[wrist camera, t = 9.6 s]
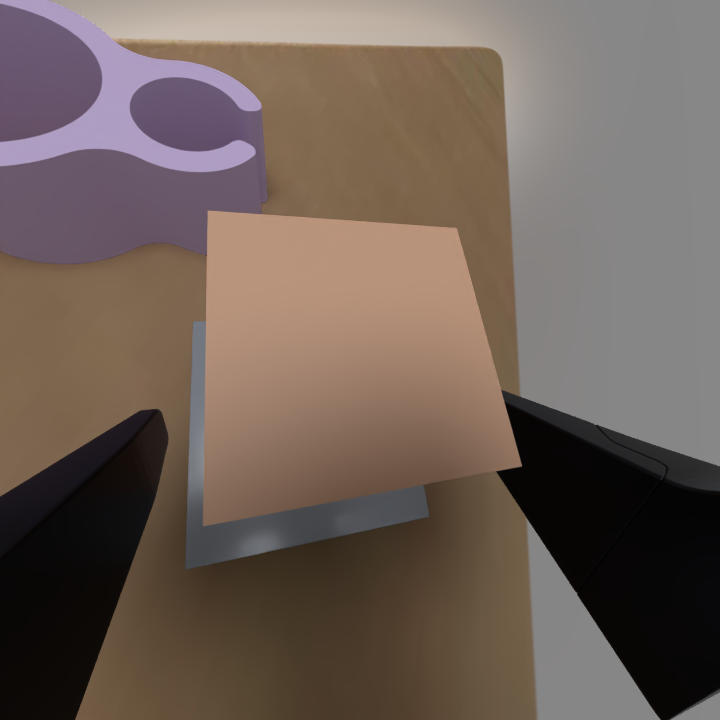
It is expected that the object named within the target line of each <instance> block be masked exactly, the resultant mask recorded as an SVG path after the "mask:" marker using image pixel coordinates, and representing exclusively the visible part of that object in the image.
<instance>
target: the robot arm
mask: <svg viewBox="0 0 720 720" xmlns="http://www.w3.org/2000/svg"><path fill="white" fill-rule="evenodd" d="M501 391H502V395H503V399H504V402H505V406H506V410H507V413H508V417H509V421H510V424H511V428H512V432H513V435H514V439H515V442H516V446H517V450H518V453H519V457H520V461H521V464H522V466H521V467H516V468H511V469H505V470H500V471H496V472H497V474H498V475H499V477H500V478H501V480H502V481H503V483H504V484H505V486H506V487H507V489H508V490H509V492H510V493H511V495H512V496H513V498H514V499H515V501H516V502H517V504H518V505H519V507H520V508H521V510H522V511H523V513H524V514H525V516H526V517H527V519H528V521H529V522H530V524H531V525H532V527H533V528H534V530H535V531H536V533H537V534H538V536H539V537H540V539H541V540H542V542H543V543H544V545H545V546H546V548H547V549H548V551H549V552H550V554H551V555H552V557H553V558H554V560H555V561H556V563H557V564H558V566H559V567H560V569H561V570H562V572H563V574H564V575H565V576H566V578H567V580H568V581H569V583H570V584H571V586H572V587H573V589H574V590H575V592H577V595H578V597H579V598H580V600H581V601H582V603H583V604H584V606H585V607H586V609H587V610H588V612H589V613H590V615H591V616H592V618H593V619H594V621H595V622H596V624H597V625H598V627H599V629H600V630H601V632H602V633H603V634H604V636H605V638H606V639H607V641H608V642H609V644H610V645H611V647H612V648H613V650H614V651H615V653H616V654H617V656H618V657H619V659H620V660H621V662H622V663H623V665H624V666H625V668H626V669H627V671H628V672H629V674H630V676H631V677H632V679H633V680H634V682H635V683H636V685H637V686H638V688H639V689H640V691H641V692H642V694H643V695H644V697H645V698H646V700H647V701H648V703H649V704H650V706H651V707H652V709H653V710H654V711H655V713H656V714H657V716H658V717H659V718H660V719H661V720H671V719H673V718H674V717H676V716H678V715H680V714H682V713H683V712H685V711H687V710H689V709H691V708H692V707H694V706H696V705H698V704H700V703H701V702H703V701H705V700H706V699H709V698H710V697H712V696H714V695H716V694H718V693H719V692H720V466H717V465H714V464H711V463H708V462H705V461H701V460H698V459H695V458H692V457H689V456H686V455H683V454H680V453H677V452H674V451H671V450H668V449H665V448H662V447H659V446H656V445H652V444H650V443H647V442H644V441H641V440H638V439H635V438H632V437H629V436H626V435H624V434H621V433H618V432H615V431H612V430H610V429H607V428H604V427H601V426H599V425H594V424H593V423H590V422H588V421H585V420H582V419H579V418H576V417H574V416H571V415H569V414H566V413H563V412H560V411H558V410H555V409H552V408H549V407H547V406H544V405H541V404H538V403H536V402H533V401H530V400H528V399H525V398H522V397H519V396H517V395H514V394H511V393H509V392H506V391H503V390H501ZM167 445H168V432H167V429H166V425H165V422H164V418H163V415H162V412H161V411H160V410H159V409H150V410H141V411H139V412H137V413H135V414H134V415H132V416H131V417H129V418H127V419H126V420H124V421H122V422H121V423H119V424H118V425H116V426H114V427H113V428H111V429H109V430H108V431H106V432H105V433H103V434H101V435H100V436H98V437H96V438H95V439H93V440H92V441H90V442H88V443H87V444H85V445H83V446H82V447H80V448H79V449H77V450H75V451H74V452H72V453H70V454H69V455H67V456H66V457H64V458H62V459H61V460H59V461H57V462H56V463H54V464H53V465H51V466H49V467H48V468H46V469H44V470H43V471H41V472H40V473H38V474H36V475H35V476H33V477H31V478H30V479H28V480H27V481H25V482H23V483H22V484H20V485H18V486H17V487H15V488H14V489H12V490H10V491H9V492H7V493H5V494H4V495H2V496H1V497H0V720H75V719H76V716H77V713H78V711H79V708H80V705H81V702H82V699H83V697H84V694H85V691H86V688H87V686H88V683H89V680H90V677H91V675H92V672H93V669H94V666H95V664H96V661H97V658H98V655H99V653H100V650H101V647H102V644H103V641H104V639H105V636H106V633H107V630H108V628H109V625H110V622H111V619H112V617H113V614H114V611H115V608H116V606H117V603H118V600H119V597H120V594H121V592H122V589H123V586H124V583H125V581H126V578H127V575H128V572H129V570H130V567H131V564H132V561H133V559H134V556H135V553H136V550H137V548H138V545H139V542H140V539H141V536H142V534H143V531H144V528H145V525H146V523H147V520H148V517H149V514H150V512H151V509H152V506H153V503H154V500H155V497H156V493H157V489H158V485H159V480H160V476H161V472H162V467H163V463H164V458H165V454H166V450H167Z"/></svg>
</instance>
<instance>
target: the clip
mask: <svg viewBox="0 0 720 720" xmlns="http://www.w3.org/2000/svg"><path fill="white" fill-rule="evenodd" d="M267 200H268V195H267V180H266V165H265V151H264V136H263V121H262V107H261V103H260V102H259V100H258V99H257V98H256V97H255V95H254V94H253V93H252V92H251V91H250V90H249V89H247V88H246V87H245V86H244V85H243V84H241V83H240V82H238V81H237V80H235V79H234V78H232V77H230V76H228V75H226V74H224V73H222V72H220V71H218V70H215V69H213V68H210V67H207V66H203V65H200V64H196V63H191V62H185V61H176V60H160V59H154V58H149V57H145V56H142V55H139V54H136V53H134V52H131V51H129V50H127V49H125V48H124V47H122V46H120V45H119V44H117V43H116V42H115V41H114V40H112V39H111V38H110V37H109V36H108V35H107V34H106V33H105V32H103V31H102V30H101V29H100V28H99V27H97V26H96V25H95V24H93V23H92V22H90V21H89V20H87V19H86V18H84V17H82V16H81V15H79V14H77V13H75V12H73V11H71V10H69V9H67V8H65V7H63V6H61V5H58V4H56V3H54V2H51V1H49V0H0V251H2V252H4V253H6V254H9V255H12V256H15V257H18V258H22V259H26V260H30V261H35V262H42V263H51V264H79V263H88V262H94V261H100V260H104V259H108V258H112V257H115V256H118V255H121V254H123V253H126V252H128V251H130V250H132V249H135V248H137V247H139V246H142V245H146V244H152V243H168V244H174V245H177V246H180V247H183V248H185V249H187V250H190V251H193V252H196V253H200V254H204V255H207V225H208V211H221V212H235V213H249V214H262V212H261V203H264V202H266V201H267Z"/></svg>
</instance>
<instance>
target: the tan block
mask: <svg viewBox="0 0 720 720" xmlns="http://www.w3.org/2000/svg"><path fill="white" fill-rule="evenodd" d="M521 466H522V464H521V461H520V457H519V453H518V450H517V446H516V442H515V439H514V435H513V432H512V428H511V424H510V421H509V417H508V413H507V410H506V406H505V402H504V399H503V395H502V391H501V388H500V384H499V380H498V377H497V373H496V370H495V366H494V362H493V359H492V355H491V351H490V348H489V344H488V340H487V337H486V333H485V329H484V326H483V322H482V319H481V315H480V311H479V308H478V304H477V300H476V297H475V293H474V289H473V286H472V282H471V278H470V275H469V271H468V267H467V264H466V260H465V257H464V253H463V249H462V246H461V242H460V238H459V235H458V231H457V228H447V227H433V226H419V225H405V224H391V223H376V222H362V221H348V220H334V219H320V218H306V217H292V216H278V215H263V214H249V213H235V212H221V211H208V225H207V291H206V356H205V421H204V487H203V526H208V525H213V524H218V523H224V522H229V521H234V520H240V519H245V518H250V517H256V516H261V515H266V514H271V513H277V512H282V511H287V510H293V509H298V508H303V507H309V506H314V505H319V504H325V503H330V502H335V501H341V500H346V499H351V498H357V497H362V496H367V495H372V494H378V493H383V492H388V491H394V490H399V489H404V488H410V487H415V486H420V485H426V484H431V483H436V482H442V481H447V480H452V479H458V478H463V477H468V476H473V475H479V474H484V473H489V472H495V471H500V470H505V469H511V468H516V467H521Z"/></svg>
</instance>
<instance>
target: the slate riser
mask: <svg viewBox="0 0 720 720" xmlns="http://www.w3.org/2000/svg"><path fill="white" fill-rule="evenodd" d="M205 356H206V321H202V322H193V344H192V375H191V406H190V436H189V467H188V497H187V528H186V558H185V570H187V569H191V568H196V567H200V566H205V565H210V564H214V563H219V562H223V561H228V560H233V559H237V558H242V557H246V556H251V555H256V554H260V553H265V552H270V551H274V550H279V549H283V548H288V547H293V546H297V545H302V544H306V543H311V542H316V541H320V540H325V539H329V538H334V537H339V536H343V535H348V534H352V533H357V532H362V531H366V530H371V529H375V528H380V527H385V526H389V525H394V524H398V523H403V522H408V521H412V520H417V519H422V518H426V517H430V516H429V511H428V505H427V500H426V494H425V488H424V485H420V486H415V487H410V488H404V489H399V490H394V491H388V492H383V493H378V494H372V495H367V496H362V497H357V498H351V499H346V500H341V501H335V502H330V503H325V504H319V505H314V506H309V507H303V508H298V509H293V510H287V511H282V512H277V513H271V514H266V515H261V516H256V517H250V518H245V519H240V520H234V521H229V522H224V523H218V524H213V525H208V526H203V487H204V421H205Z"/></svg>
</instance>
